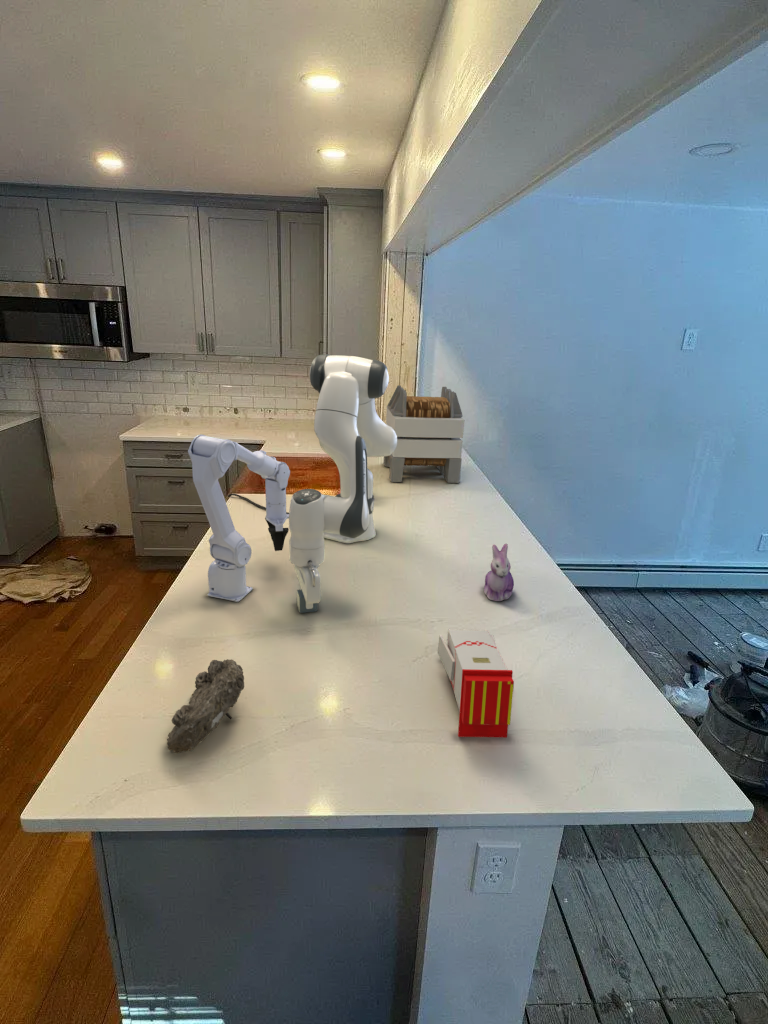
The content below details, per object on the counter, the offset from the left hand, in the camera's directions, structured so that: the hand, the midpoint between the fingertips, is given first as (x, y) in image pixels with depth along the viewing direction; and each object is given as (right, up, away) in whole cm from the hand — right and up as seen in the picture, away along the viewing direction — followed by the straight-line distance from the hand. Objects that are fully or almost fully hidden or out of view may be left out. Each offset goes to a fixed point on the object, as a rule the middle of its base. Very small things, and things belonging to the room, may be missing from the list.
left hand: (277, 545), depth 167 cm
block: (+11, -15, -19) cm, 27 cm away
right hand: (+11, -14, -19) cm, 26 cm away
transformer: (+49, +29, +108) cm, 122 cm away
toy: (+49, -28, -49) cm, 75 cm away
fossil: (-1, -29, -59) cm, 66 cm away
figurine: (+64, -14, -7) cm, 66 cm away
